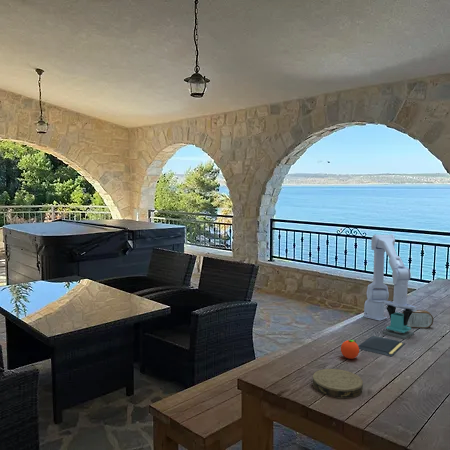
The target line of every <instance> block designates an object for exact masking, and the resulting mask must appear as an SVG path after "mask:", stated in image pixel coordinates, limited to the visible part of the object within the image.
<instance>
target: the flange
mask: <svg viewBox="0 0 450 450" xmlns="http://www.w3.org/2000/svg"><path fill="white" fill-rule="evenodd" d="M388 329H389V330H393V331H397V332H401V333H405V332H407V331H411V330H412V328H411V327H407V325H406V326H404V314H402V312H397V311H395V313H393V314H391V320H390V324H389V325H388V326H386V330H388Z"/></svg>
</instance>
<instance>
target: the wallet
mask: <svg viewBox="0 0 450 450" xmlns="http://www.w3.org/2000/svg"><path fill="white" fill-rule="evenodd" d="M405 345H406V343H405V342H401V341H399V340H396V339H392V338H391V339H390V338H386V337H381V336H377V335H372V336H370V337H368V338H367V339H366V340H365V341H363V342H362V343H360V344H358V347H359V351H365V352H369V353H374V354H377V355H381V356H386V357H392V358H393V356H395V355H396V354H397V353H398V352H399V350H401V349H402V348H403V346H405Z"/></svg>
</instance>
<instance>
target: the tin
mask: <svg viewBox="0 0 450 450" xmlns="http://www.w3.org/2000/svg"><path fill="white" fill-rule="evenodd" d="M401 313H402V314H404V313H403V311H402V312H401ZM433 324H434V316H433V315H432V313H430V311H428V310H425V309H424V310H423V309H422V310H421V309H417V311H415V312H414V311H413V312H412V314H411V316H410V318H409V320H408V323H407V327H411V329H412V328H413V329H428V328H431V326H433Z"/></svg>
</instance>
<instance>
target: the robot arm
mask: <svg viewBox="0 0 450 450" xmlns="http://www.w3.org/2000/svg"><path fill="white" fill-rule="evenodd" d="M370 240H371V245H370V247H371V250H372V251H373V277H372V278H373V279H372V280H373V281H372V282H371V283H369V284H368V285H367V289H366V298H367V299H365V302H364V304H363V305H364V307H363V308H364V309H363V315H362V317H363V318H366V319H371V320H376V321H380V322H381V321H383V320H386V319H388V317H387V316H385V309H386V310H387V313H388V316H389V319H390V321H391V314H393V313H395V312H396V309H397V308H398V309H403V310H402V312H403V313H404V326H406V325H407V323H408V320H409V318H410V316H411V314H412V312H413V311H414V312H415V311H417V310H418V309H417V308H418V306H414V305H411V304H409V303H407V302H408V286H409V285H408V284H409V281H411V277H412V276H411V270H410V268H408V267H407V266H405V264H404V262H403V260H402V258H401V257H400V256H399V255H397V252H396V249H395V244H396V240H395V236H394V235H393V234H373V235H372V237H371V239H370ZM385 253H386V255H387V256H388V263H389V266H390V269H391V270H392V272H391V276H392V284H393V299H392V300H393V301H392V300H389V299H390V297H389V296H390V292H389V287H388V285H387V284H385V282H384V280H385V279H384V277H385V276H384V275H385V274H384V272H385V269H384V268H385ZM385 306H386V308H385Z"/></svg>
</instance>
